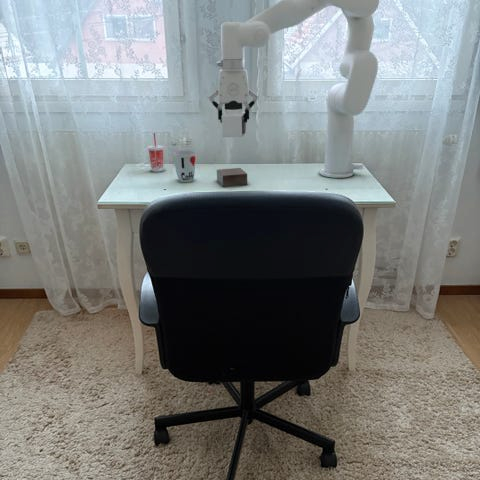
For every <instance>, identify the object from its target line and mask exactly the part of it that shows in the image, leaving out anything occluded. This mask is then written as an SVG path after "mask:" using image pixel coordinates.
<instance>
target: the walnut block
mask: <svg viewBox="0 0 480 480" xmlns="http://www.w3.org/2000/svg"><path fill="white" fill-rule="evenodd" d="M216 181H217V182H218V183H219V184H220V185H221V187H223V188H227V187H239V186H247V185H248V173H247V172H246V171H245V170H243V169H242V168H241V167H233V168H220V169H216Z"/></svg>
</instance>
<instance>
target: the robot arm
mask: <svg viewBox="0 0 480 480" xmlns="http://www.w3.org/2000/svg"><path fill="white" fill-rule="evenodd" d="M379 6H380V0H280V1H278V2H277V3H275V4H273V5H271V6H269V7H268V8H266V9H264V10H263V11H261V12H259V13H257V14H255V15H254V16H252V17H250V18H249V19H248V20H246V21H245V22H241V21H224V22H222V23H221V25H220V46H221V47H220V49H221V50H220V55H221V57H220V59H221V60H219V61H216V66H217V67H220V68H221V69H219V71H218V79H217V89H216V90H215V91H214V92H213V93H211V94H210V95H209V96H208V99H209V101H210V103H211V104H212V106H214V107H215V108H216V110H217V120H218V121H220V123H221V124H222V115H223V108H222V107H224V105H225V104H224V103H229V102H230V101H237V102H238V103H242V105H244V107H245V109H244V112H245V122H246V123H248V120H250V110H251V109H252V107H253V106H254V105H255V104H256V102H257V101H258V99H259V95H257V94H256V93H255V92H254V91H252V90H251V89H250V88H249V76H248V75H249V74H248V69H245V66H246V65H245V48H246V47H249V48H256V49H258V48H262V47H264V46H266V45H267V44H268V43H269V41H270V39H271V35H273V34H275V33H277V32H279V31H282V30H284V29H285V30H286V29H289V28H293V27H295V26H297V25H300V24H301V23H303V22H305V21H306V20H308V19H309V18H311V17H312V16H314V15H316V14H317V13H320V12H321V11H322V10H324V9H326V8H328V7H336V8H338V9H340V10H341V13H342V14H343V15H344V17H345V19H346V21H347V26H348V27H347V28H348V29H347V31H348V32H347V37H346V41H345V44H344V47H343V51H342V53H341V54H342V55H341V58H340V61H339V67H338V69H339V73H340V75H341V77H343V78H344V79H346V80H347V82H339V83H336V84H335V85H333V86H332V87H331V88H330V90H329V91H328V93H327V98H326V111H327V125H326V139H325V152H324V167H323V168H321V169H320V170H319V174H320V176H323V177H327V178H333V179H343V178H350V177H352V176H353V175H354V170H357V171H358V170H363V169H364V165H363V163H353V162H352V161H351V159H352V148H353V138H354V130H355V116H356V117H357V116H359V115H360V114H362V113H363V112H364V111H365V109H366V108H367V105H368V103H369V101H370V98H371V94H372V91H373V88H374V85H375V82H376V78H377V76H378V75H377V74H378V70H379V63H378V58H377V56H376V54H374V53H373V51H370V50H371V46H372V42H373V38H374V33H375V24H374V18H373V15H374V14H375V12H376V11H377V10H378V9H379V8H378V7H379ZM249 96H251V98H252V99H251V101H250V102H249V99H250V97H249ZM216 97H218V102H219V103H218V102H217V101H216V100H215V98H216Z"/></svg>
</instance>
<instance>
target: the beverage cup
mask: <svg viewBox="0 0 480 480" xmlns="http://www.w3.org/2000/svg"><path fill="white" fill-rule="evenodd" d="M153 140H154V145H148V146H147V150H148V154H149V161H150V168H151V169H150V170H151V172H153V173H158V172H163V171H164V145H161V144H157V142H156V133H155V132H153Z"/></svg>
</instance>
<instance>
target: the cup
mask: <svg viewBox="0 0 480 480" xmlns="http://www.w3.org/2000/svg"><path fill="white" fill-rule="evenodd" d="M196 154H197V153H196V151H194V150H187V149H185V150H183V149H182V150H176V151H174V152H173V154H172V155H173V164H174V169H175V172H176V176H177V178H178V181H179V182H180V183H190V182H193V181H194V178H195V174H196V173H195V172H196V160H197V159H196V158H197V157H196Z"/></svg>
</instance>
